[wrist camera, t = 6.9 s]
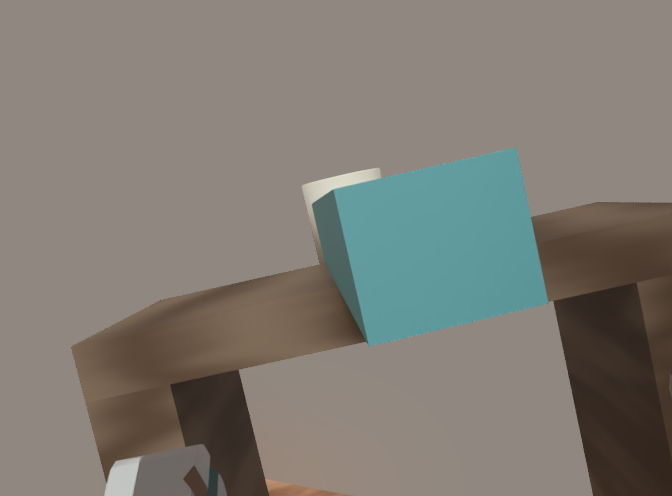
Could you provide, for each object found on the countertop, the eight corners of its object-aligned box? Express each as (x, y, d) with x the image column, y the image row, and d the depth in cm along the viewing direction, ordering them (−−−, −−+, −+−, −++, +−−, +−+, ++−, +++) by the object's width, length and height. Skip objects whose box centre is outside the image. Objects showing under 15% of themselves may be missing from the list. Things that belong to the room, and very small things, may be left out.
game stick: (390, 243, 34) (374, 170, 34) (561, 300, 12) (518, 91, 12) (318, 260, 34) (301, 187, 33) (355, 349, 12) (307, 138, 11)
